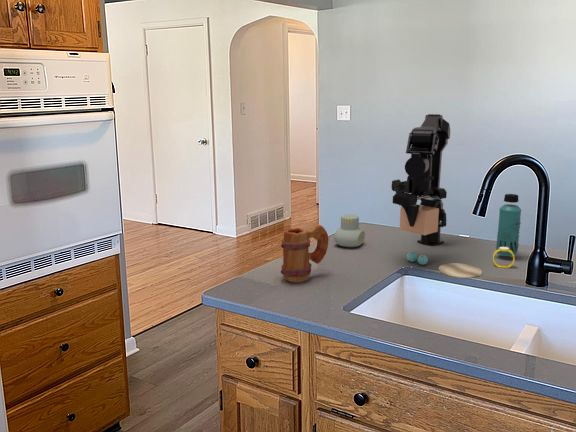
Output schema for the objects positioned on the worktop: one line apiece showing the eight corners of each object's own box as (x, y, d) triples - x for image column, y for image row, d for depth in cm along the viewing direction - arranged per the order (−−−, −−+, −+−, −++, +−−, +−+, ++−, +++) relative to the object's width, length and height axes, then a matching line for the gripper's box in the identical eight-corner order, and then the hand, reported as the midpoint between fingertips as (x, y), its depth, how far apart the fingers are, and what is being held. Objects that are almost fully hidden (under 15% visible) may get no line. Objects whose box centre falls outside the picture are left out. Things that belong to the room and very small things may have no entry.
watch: (492, 268, 171) (492, 248, 169) (492, 265, 173) (492, 246, 172) (514, 269, 169) (514, 249, 167) (514, 266, 171) (514, 246, 170)
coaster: (454, 262, 175) (454, 260, 175) (490, 271, 166) (490, 270, 166) (430, 270, 168) (430, 268, 168) (466, 281, 159) (466, 279, 159)
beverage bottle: (494, 259, 178) (499, 195, 173) (495, 253, 184) (500, 191, 179) (517, 262, 175) (523, 197, 171) (517, 256, 181) (523, 193, 177)
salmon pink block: (412, 226, 178) (413, 203, 176) (437, 231, 171) (438, 208, 170) (399, 229, 174) (400, 206, 172) (424, 235, 167) (425, 211, 166)
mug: (287, 287, 155) (287, 232, 151) (274, 278, 162) (273, 226, 158) (334, 278, 161) (335, 226, 158) (319, 270, 168) (319, 220, 165)
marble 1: (410, 259, 178) (411, 250, 178) (418, 261, 176) (419, 252, 175) (404, 261, 176) (404, 251, 176) (412, 263, 174) (412, 254, 173)
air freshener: (355, 251, 188) (356, 221, 185) (331, 248, 191) (332, 218, 189) (366, 242, 197) (367, 214, 195) (343, 240, 201) (343, 211, 198)
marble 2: (421, 262, 175) (421, 252, 175) (429, 264, 173) (430, 255, 172) (415, 264, 173) (415, 254, 173) (423, 266, 171) (423, 257, 171)
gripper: (418, 166, 180) (416, 215, 184) (378, 172, 169) (377, 224, 172) (449, 170, 172) (445, 221, 176) (409, 177, 160) (407, 231, 164)
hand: (418, 224), depth 172 cm, fingers closed on salmon pink block, 6 cm apart
